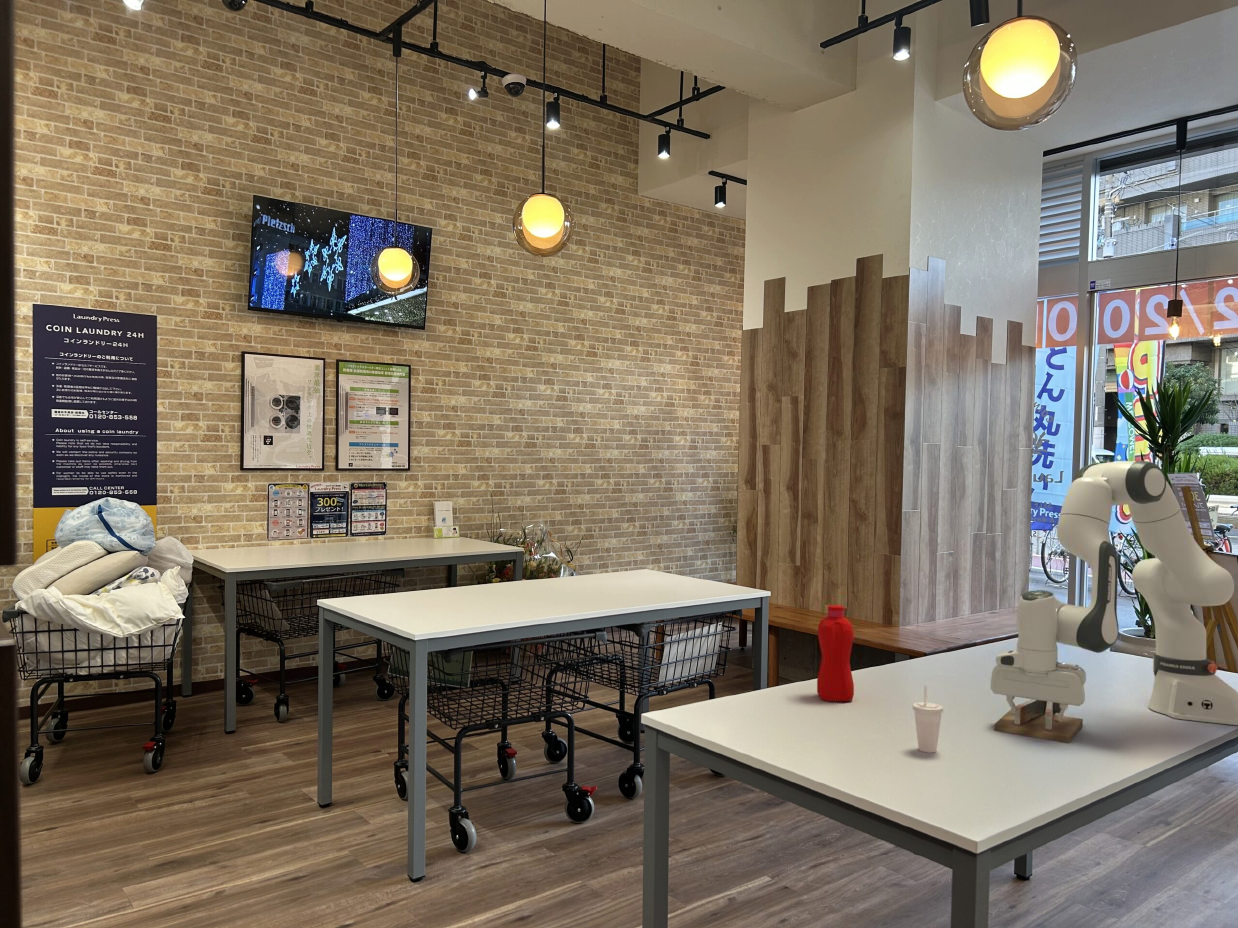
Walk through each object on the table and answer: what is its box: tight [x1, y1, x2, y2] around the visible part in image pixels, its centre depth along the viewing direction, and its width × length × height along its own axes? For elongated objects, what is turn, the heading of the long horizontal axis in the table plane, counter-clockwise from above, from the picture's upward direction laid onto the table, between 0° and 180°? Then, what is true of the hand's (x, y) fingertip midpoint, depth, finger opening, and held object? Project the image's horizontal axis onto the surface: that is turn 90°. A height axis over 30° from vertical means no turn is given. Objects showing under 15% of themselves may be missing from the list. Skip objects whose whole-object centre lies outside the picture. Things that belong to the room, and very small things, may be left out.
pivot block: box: [1045, 701, 1063, 714], centre depth 221 cm, size 6×4×7 cm, turn 54°
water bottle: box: [816, 604, 855, 703], centre depth 238 cm, size 9×11×25 cm
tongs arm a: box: [1045, 702, 1053, 730], centre depth 211 cm, size 16×1×4 cm, turn 153°
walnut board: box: [994, 709, 1084, 744], centre depth 212 cm, size 16×18×2 cm
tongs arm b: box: [1014, 699, 1045, 725], centre depth 213 cm, size 16×1×4 cm, turn 135°
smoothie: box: [912, 685, 944, 753], centre depth 194 cm, size 6×6×14 cm
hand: (1036, 718), depth 209 cm, fingers open, 8 cm apart
